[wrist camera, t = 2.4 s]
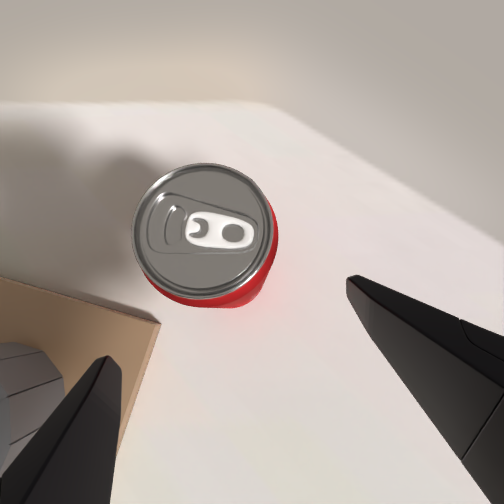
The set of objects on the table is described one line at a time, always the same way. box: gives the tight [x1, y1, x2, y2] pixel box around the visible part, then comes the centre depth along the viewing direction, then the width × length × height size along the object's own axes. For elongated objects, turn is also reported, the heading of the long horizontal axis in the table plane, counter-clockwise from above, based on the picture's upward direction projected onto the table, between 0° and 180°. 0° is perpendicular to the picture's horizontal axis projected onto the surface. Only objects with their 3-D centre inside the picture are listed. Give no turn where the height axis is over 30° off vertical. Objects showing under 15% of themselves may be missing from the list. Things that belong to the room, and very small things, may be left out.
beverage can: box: [131, 163, 278, 308], centre depth 14 cm, size 5×5×12 cm
